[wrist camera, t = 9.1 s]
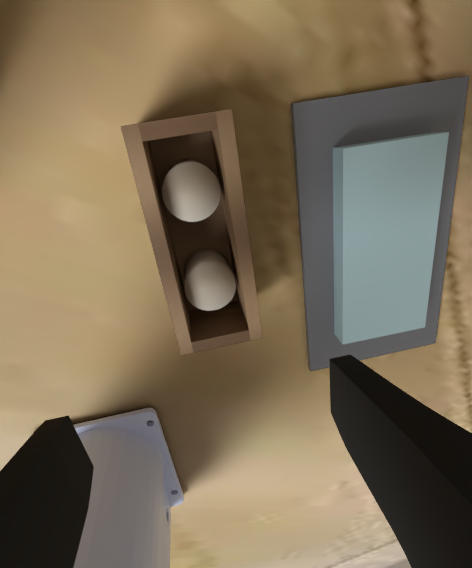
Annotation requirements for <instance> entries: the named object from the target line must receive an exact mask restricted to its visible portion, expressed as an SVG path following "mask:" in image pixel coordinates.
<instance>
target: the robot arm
mask: <svg viewBox="0 0 472 568" xmlns="http://www.w3.org/2000/svg"><path fill="white" fill-rule="evenodd" d="M329 362H330V398H331V414H332V416H333V418H334V421H335V423H336V426H337V428H338V430H339V433H340V435H341V437H342V440H343V442H344V444H345V446H346V448H347V450H348V452H349V454H350V456H351V457H352V459H353V461H354V463H355V464H356V466H357V468H358V470H359V472H360V473H361V475H362V477H363V479H364V480H365V482H366V484H367V486H368V487H369V489H370V491H371V493H372V494H373V496H374V498H375V500H376V502H377V503H378V505H379V507H380V509H381V510H382V512H383V514H384V516H385V517H386V519H387V521H388V523H389V524H390V526H391V528H392V530H393V531H394V533H395V535H396V537H397V539H398V541H399V543H400V545H401V547H402V549H403V551H404V552H405V555H406V557H407V559H408V561H409V563H410V565H411V567H412V568H472V433H470V432H469V431H467V430H465V429H463V428H462V427H460V426H458V425H457V424H455V423H453V422H452V421H450V420H448V419H446V418H445V417H443V416H441V415H440V414H438V413H436V412H435V411H433V410H432V409H430V408H428V407H427V406H425V405H424V404H422V403H421V402H419V401H418V400H416V399H415V398H413V397H411V396H410V395H408V394H407V393H405V392H404V391H402V390H401V389H399V388H398V387H396V386H395V385H393V384H392V383H391V382H389V381H388V380H386V379H385V378H383V377H382V376H380V375H379V374H378V373H376V372H375V371H373V370H372V369H370V368H369V367H368V366H366V365H365V364H363V363H362V362H360V361H359V360H358V359H356V358H355V357H353V356H352V355H345V356H341V357H336V358H331V359H329ZM149 420H152V422H149ZM183 501H184V494H183V491H182V488H181V485H180V482H179V479H178V476H177V473H176V470H175V467H174V464H173V461H172V458H171V455H170V452H169V449H168V446H167V443H166V440H165V437H164V434H163V431H162V428H161V425H160V422H159V419H158V416H157V413H156V411H155V410H154V409H153V408H145V409H140V410H136V411H131V412H127V413H123V414H118V415H114V416H109V417H105V418H101V419H96V420H92V421H87V422H83V423H79V424H74V425H73V423H72V421H71V419H70V417H69V416H65V417H60V418H55V419H51V420H46V421H45V422H44V423H43V424H42V425H41V426H40V427H39V428H38V429H37V430H36V431H35V432H34V433H33V434H32V435H31V436H30V438H29V439H28V440H27V441H26V442H25V444H24V445H23V446H22V447H21V448H20V449H19V450H18V452H17V453H16V454H15V455H14V456H13V457H12V458H11V460H10V461H9V462H8V463H7V464H6V465H5V467H4V468H3V469H2V470H1V471H0V568H170V522H171V506H175V505H179V504H181V503H182V502H183Z"/></svg>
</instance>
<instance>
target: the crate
mask: <svg viewBox="0 0 472 568" xmlns="http://www.w3.org/2000/svg"><path fill="white" fill-rule="evenodd" d="M121 129H122V133H123V137H124V141H125V144H126V148H127V152H128V156H129V160H130V163H131V167H132V171H133V175H134V179H135V182H136V186H137V190H138V194H139V197H140V201H141V205H142V209H143V213H144V216H145V220H146V224H147V228H148V232H149V235H150V239H151V243H152V247H153V251H154V254H155V258H156V262H157V266H158V270H159V273H160V277H161V281H162V285H163V289H164V292H165V296H166V300H167V304H168V308H169V311H170V315H171V319H172V323H173V326H174V330H175V334H176V338H177V342H178V345H179V349H180V353H181V355H186V354H190V353H195V352H200V351H204V350H209V349H213V348H218V347H223V346H227V345H232V344H237V343H241V342H246V341H251V340H255V339H260V338H263V337H262V330H261V323H260V315H259V308H258V300H257V293H256V285H255V278H254V270H253V263H252V256H251V248H250V241H249V233H248V226H247V218H246V211H245V204H244V196H243V189H242V181H241V174H240V166H239V159H238V151H237V144H236V137H235V129H234V122H233V114H232V109H227V110H221V111H215V112H208V113H202V114H195V115H189V116H183V117H176V118H170V119H164V120H157V121H151V122H144V123H138V124H132V125H125V126H121Z"/></svg>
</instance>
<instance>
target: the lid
mask: <svg viewBox="0 0 472 568" xmlns="http://www.w3.org/2000/svg"><path fill="white" fill-rule="evenodd" d="M448 137H449V132H432V133H425V134H419V135H412V136H406V137H399V138H393V139H386V140H380V141H373V142H367V143H360V144H354V145H347V146H341V147H334V148H333V238H334V334H335V336H336V337H337V338H338V339H339V341H340V342H341V343H342V344H348V343H353V342H358V341H363V340H367V339H372V338H377V337H382V336H386V335H391V334H396V333H401V332H406V331H410V330H415V329H420V328H425V323H426V315H427V307H428V299H429V291H430V283H431V275H432V267H433V259H434V251H435V242H436V234H437V226H438V218H439V210H440V202H441V194H442V186H443V178H444V170H445V161H446V153H447V145H448Z"/></svg>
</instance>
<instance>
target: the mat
mask: <svg viewBox="0 0 472 568" xmlns="http://www.w3.org/2000/svg"><path fill="white" fill-rule="evenodd" d="M468 81H469V76H463V77H457V78H451V79H444V80H438V81H432V82H425V83H419V84H413V85H406V86H400V87H393V88H387V89H381V90H374V91H368V92H362V93H355V94H349V95H343V96H336V97H330V98H324V99H317V100H311V101H305V102H298V103H292V104H291V108H292V123H293V138H294V152H295V167H296V182H297V197H298V211H299V226H300V241H301V256H302V270H303V285H304V300H305V315H306V329H307V344H308V359H309V369H310V371H315V370H319V369H323V368H328V367H330V362H329V359H331V358H336V357H341V356H345V355H352V356H353V357H355V358H356V359H358V360H363V359H367V358H372V357H376V356H381V355H385V354H389V353H394V352H398V351H403V350H407V349H411V348H416V347H420V346H425V345H429V344H433V343H436V335H437V327H438V319H439V311H440V303H441V295H442V287H443V279H444V271H445V264H446V256H447V248H448V240H449V232H450V224H451V216H452V208H453V200H454V192H455V184H456V176H457V168H458V160H459V152H460V144H461V136H462V128H463V121H464V113H465V105H466V97H467V89H468ZM432 132H449V137H448V145H447V153H446V161H445V170H444V178H443V186H442V194H441V202H440V210H439V218H438V226H437V234H436V242H435V251H434V259H433V267H432V275H431V283H430V291H429V299H428V307H427V315H426V323H425V328H420V329H415V330H410V331H406V332H401V333H396V334H391V335H386V336H382V337H377V338H372V339H367V340H363V341H358V342H353V343H348V344H342V343H341V342H340V341H339V339H338V338H337V337H336V336H335V334H334V238H333V148H334V147H341V146H347V145H354V144H360V143H367V142H373V141H380V140H386V139H393V138H399V137H406V136H412V135H419V134H425V133H432Z"/></svg>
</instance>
